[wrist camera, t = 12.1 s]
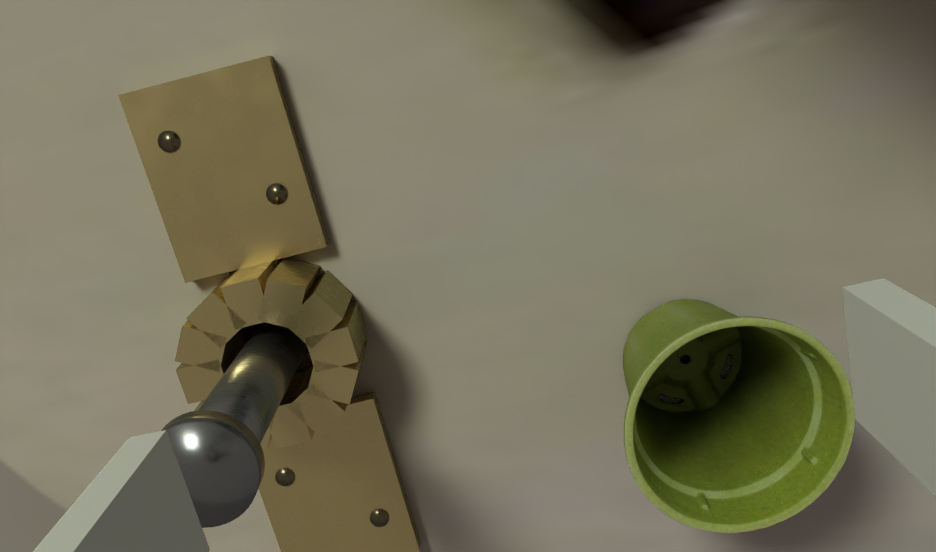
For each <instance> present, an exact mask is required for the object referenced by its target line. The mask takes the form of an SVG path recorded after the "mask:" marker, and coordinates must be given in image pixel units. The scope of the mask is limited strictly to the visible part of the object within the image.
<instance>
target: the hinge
mask: <svg viewBox="0 0 936 552" xmlns="http://www.w3.org/2000/svg"><path fill="white" fill-rule="evenodd" d="M119 98H120V101H121V104H122V107H123V109H124V112H125V115H126V118H127V121H128V123H129V126H130V129H131V132H132V135H133V137H134V140H135V143H136V146H137V149H138V151H139V154H140V157H141V160H142V163H143V166H144V168H145V171H146V174H147V177H148V180H149V182H150V185H151V188H152V191H153V194H154V196H155V199H156V202H157V205H158V208H159V210H160V213H161V216H162V219H163V222H164V224H165V227H166V230H167V233H168V236H169V238H170V241H171V244H172V247H173V250H174V252H175V255H176V258H177V261H178V264H179V266H180V269H181V272H182V275H183V278H184V280H185V283H187V282H191V281H195V280H199V279H203V278H206V277H210V276H214V275H218V274H222V273H226V272H230V271H233V272H232V273H231V274H230V275H229V276H228V277H227V278H226V279H225V280H224V281H223V282H222V283H221V284H220V285H219V286H218V287H217V288H216V289H215V290H214V291H213V292H212V293H211V294H210V295H209V296H208V297H207V298H206V299H205V300H204V301H203V302H202V303H201V304H200V305H199V306H198V307H197V308H196V309H195V310H194V311H193V312H192V313H191V314H190V315H189V316H188V317H187V319H188V321H187V322H186V323H185V324H184V325H183V326H182V329H181V334H180V339H179V344H178V349H177V353H176V358H175V361H177V362H181V365H180V366H179V367H178V368H177V369H176V372H177V375H178V378H179V380H180V383H181V386H182V388H183V391H184V394H185V396H186V399H187V402H188V404H190V403H194V402H198V401H201V402H200V403H199V405H198V406H197V408H196V409H195V410H194V411H198V410H199V408H200V407H201V405H202V404H203V403H204V401H205V400H206V398H207V397H208V396H209V394H210V393H211V391H212V390H213V389H214V387H215V386H216V384H217V383H218V382H219V380H220V379H221V377H222V376H223V375H224V373H225V372H226V370H227V369H228V368H229V366H230V365H231V363H232V362H233V361H234V359H235V358H236V356H237V355H238V354H239V352H240V351H241V349H242V348H243V347H244V345H245V342H244V339H243V332H244V328H245V327H247V326H251V325H255V324H259V323H263V322H267V323H271V324H275V325H279V326H282V327H286V328H289V329H290V330H291V331H292V332H294V333H295V334H296V335H297V336H298V337H299V338H300V339H301V340H302V341H303V342H304V343H306V344H307V347H308V351H309V354H310V357H311V360H312V363H313V365H312V366H311V367H310V368H309V369H308V370H307V371H303V372H299V373H295V374H294V376H293V378H292V380H291V382H290V384H289V386H288V388H287V390H286V392H285V394H284V396H283V398H282V400H281V402H280V404H279V407H278V409H277V411H276V413H275V415H274V417H273V419H272V421H271V423H270V425H269V427H268V429H267V431H266V433H265V435H264V437H263V439H262V441H261V443H260V445H261V447H262V450H263V453H264V459H265V470H264V475H263V478H262V481H261V484H260V486H259V491H260V493H261V496H262V499H263V502H264V505H265V507H266V510H267V513H268V516H269V519H270V521H271V524H272V527H273V530H274V533H275V535H276V538H277V541H278V544H279V547H280V549H281V552H420V540H419V537H418V534H417V530H416V527H415V524H414V521H413V517H412V514H411V511H410V507H409V504H408V501H407V498H406V494H405V491H404V488H403V484H402V481H401V478H400V475H399V471H398V468H397V465H396V461H395V458H394V455H393V452H392V448H391V445H390V442H389V438H388V435H387V432H386V429H385V425H384V422H383V419H382V415H381V412H380V409H379V406H378V402H377V399H376V396H375V392H374V393H370V394H366V395H362V396H358V397H354V398H352V394H353V391H354V387H355V384H356V380H357V377H358V373H359V369H360V366H361V362H362V358H363V354H364V351H365V347H366V343H367V341H365V338H366V334H367V332H366V329H365V325H364V322H363V319H362V315H361V312H360V309H359V305H358V302H353V303H349V302H350V300H351V297H352V295H353V294H352V293H351V292H350V291H349V290H348V289H347V288H346V287H345V286H344V285H343V284H342V283H340V282H339V281H338V280H337V279H336V278H335V277H334V276H333V275H332V274H331V273H330V272H329V271H328V270H327V271H326V272H325V273H324V274H323V275H322V276H321V277H320V278H319V279H318V280H317V281H316V279H317V275H318V271H319V267H320V266H318V265H314V264H311V263H307V262H303V261H299V260H296V259H292V258H288V257H289V256H293V255H297V254H301V253H305V252H309V251H313V250H317V249H321V248H325V247H327V246H328V244H329V241H328V238H327V235H326V231H325V228H324V225H323V221H322V218H321V215H320V212H319V208H318V205H317V202H316V198H315V195H314V192H313V189H312V185H311V182H310V179H309V175H308V172H307V169H306V166H305V162H304V159H303V156H302V152H301V149H300V146H299V143H298V139H297V136H296V133H295V129H294V126H293V123H292V120H291V116H290V113H289V110H288V106H287V103H286V100H285V97H284V93H283V90H282V87H281V83H280V80H279V77H278V74H277V70H276V67H275V64H274V60H273V57H272V56H266V57H262V58H258V59H254V60H251V61H247V62H243V63H239V64H235V65H232V66H228V67H224V68H220V69H216V70H213V71H209V72H205V73H201V74H197V75H194V76H190V77H186V78H182V79H178V80H175V81H171V82H167V83H163V84H160V85H156V86H152V87H148V88H144V89H141V90H137V91H133V92H129V93H125V94H122V95H119ZM281 258H284V259H283V260H282V261H281V263H280V264H279V263H278V259H281ZM238 269H239V270H238ZM236 270H238V271H236Z"/></svg>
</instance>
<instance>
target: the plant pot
mask: <svg viewBox="0 0 936 552" xmlns="http://www.w3.org/2000/svg"><path fill="white" fill-rule="evenodd" d="M729 354H730V355H731V357H732V365H731V369H730V371H729V373H728V375H727V376H726V377H725V378H724V379H722V378H720V374H721V373H722V370H723V368H724V366H725V363H726V359H728V355H729ZM682 355H688V356H689V357H690V361H689V362H688V363H687V364H683V363H682V362H680V357H681V356H682ZM623 369H624V375H625V380H626V385H627V389H628V394H629V401H628V404H627V408H626V414H625V421H624V445H625V452H626V457H627V461H628V464H629V467H630V470H631V472H632V474H633V476H634V479H635V480H636V482H637V484H638V486H639V487H640V489H641V490H642V492H643V493H644V495H645V496H646V497H647V498H648V499H649V500H650V501H651V502H652V504H653V505H655V506H656V507H657V508H658V509H659V510H661V511H662V512H663V513H665V514H666V515H668V516H669V517H671V518H673V519H674V520H676V521H678V522H680V523H682V524H685V525H687V526H689V527H692V528H696V529H700V530H705V531H710V532H716V533H739V532H747V531H753V530H758V529H762V528H766V527H769V526H771V525H775V524H777V523H779V522H782V521H784V520H786V519H788V518H790V517H792V516H794V515H796V514H797V513H799V512H800V511H802V510H803V509H805V508H806V507H807V506H809V505H810V504H811V503H812V502H814V501H815V500H816V499H817V498H818V497H819V496H820V495H821V494H822V493H823V492H824V491H825V490H826V489H827V488H828V487H829V485H830V484H831V483H832V482H833V480H834V479H835V477H836V476H837V474H838V473H839V471H840V470H841V468H842V466H843V464H844V463H845V461H846V458H847V456H848V453H849V450H850V446H851V443H852V439H853V435H854V429H855V411H854V401H853V392H852V389H851V386H850V382H849V380H848V378H847V375H846V373H845V371H844V370H843V368H842V366H841V365H840V363H839V362H838V360H837V359H836V357H835V356H834V355H833V354H832V353H831V352H830V351H829V349H828V348H827V347H826V346H825V345H824V344H822V343H821V342H820V341H819V340H817V339H816V338H815V337H813V336H812V335H810V334H809V333H807V332H805V331H803V330H801V329H800V328H797V327H795V326H793V325H790V324H787V323H785V322H781V321H778V320H774V319H768V318H762V317H738V316H736V315H734V314H731V313H729V312H727V311H725V310H723V309H721V308H719V307H717V306H715V305H713V304H710V303H708V302H704V301H700V300H691V299H682V300H674V301H671V302H668V303H666V304H664V305H662V306H660V307H658V308H657V309H655V310H653V311H651V312H650V313H648V314H646V315H645V316H643V317H642V318H641V319H640V320H639V321H638V322H637V323H636V324H635V326H634V327H633V329H632V330H631V332H630V334H629V336H628V338H627V341H626V343H625V347H624V353H623ZM659 394H663V395H666V396H669V397H671V398H676V399H683V400H684V401H683V402H681V403H680V404H673V403H666V402H664V401H661V400H660V399H659V398H658V396H659Z"/></svg>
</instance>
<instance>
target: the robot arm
mask: <svg viewBox="0 0 936 552" xmlns="http://www.w3.org/2000/svg"><path fill="white" fill-rule="evenodd" d="M842 289H843V299H844V309H845V319H846V330H847V340H848V350H849V360H850V371H851V381H852V391H853V401H854V411H855V419H856V420H857V421H858V422H859V423H860V424H861V425H862V426H863V427H864V428H865V429H866V430H867V431H868V432H869V433H870V434H871V435H872V436H873V437H874V438H875V439H876V440H878V441H879V442H880V443H881V444H882V445H883V446H884V447H885V448H886V449H887V450H888V451H889V452H890V453H891V454H892V455H893V456H894V457H895V458H896V459H897V460H898V461H899V462H900V463H901V464H902V465H903V466H905V467H906V468H907V469H908V470H909V471H910V472H911V473H912V474H913V475H914V476H915V477H916V478H917V479H918V480H919V481H920V482H921V483H922V484H923V485H924V486H925V487H926V488H927V489H928V490H929V491H930V492H932V493H933V494H934V495H935V496H936V307H934V306H932V305H930V304H929V303H927V302H925V301H923V300H921V299H920V298H918V297H916V296H914V295H913V294H911V293H909V292H907V291H905V290H904V289H902V288H900V287H898V286H897V285H895V284H893V283H891V282H889V281H888V280H886V279H884V278H883V279H878V280H874V281H869V282H864V283H859V284H855V285H850V286H845V287H842ZM209 550H210V549H209V546H208V543H207V540H206V538H205V535H204V532H203V529H202V527H201V524H200V521H199V518H198V516H197V513H196V510H195V507H194V505H193V502H192V499H191V497H190V494H189V491H188V488H187V486H186V483H185V480H184V477H183V475H182V472H181V469H180V466H179V464H178V461H177V458H176V455H175V453H174V450H173V447H172V445H171V442H170V439H169V436H168V434H167V431H166V430H164V431H159V432H154V433H149V434H145V435H140V436H135V437H131V438H128V439H127V440H126V442H125V443H124V444H123V445H122V446H121V448H120V449H119V450H118V451H117V452H116V454H115V455H114V456H113V457H112V458H111V459H110V461H109V462H108V463H107V464H106V465H105V467H104V468H103V469H102V470H101V471H100V473H99V474H98V475H97V476H96V477H95V478H94V480H93V481H92V482H91V483H90V484H89V486H88V487H87V488H86V489H85V490H84V492H83V493H82V494H81V495H80V496H79V498H78V499H77V500H76V501H75V502H74V503H73V505H72V506H71V507H70V508H69V509H68V511H67V512H66V513H65V514H64V515H63V517H62V518H61V519H60V520H59V521H58V522H57V524H56V525H55V526H54V527H53V528H52V530H51V531H50V532H49V533H48V535H47V536H46V537H45V538H44V539H43V540H42V541H41V543H40V544H39V545H38V546H37V547H36V549H35V550H34V551H33V552H209Z"/></svg>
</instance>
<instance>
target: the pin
mask: <svg viewBox="0 0 936 552" xmlns="http://www.w3.org/2000/svg"><path fill="white" fill-rule="evenodd" d="M306 349H307V344H306V343H304V342H303V341H302V340H301V339H300V338H299V337H298V336H297V335H296V334H295V333H294V332H292V331H291V330H290V329H289V328H286V327H282V326H279V325H275V324H271V323H267V322H263V323H260V324H259V326H258V327H257V329H256V330H255V331H254V333H253V334H252V336H251V337H250V338H249V340H248V341H247V342H246V344H245V345H244V347H243V348H242V349H241V351H240V352H239V354H238V355H237V356H236V358H235V359H234V361H233V362H232V363H231V365H230V366H229V368H228V369H227V370H226V372H225V373H224V375H223V376H222V377H221V379H220V380H219V382H218V383H217V384H216V386H215V387H214V389H213V390H212V391H211V393H210V394H209V396H208V397H207V398H206V400H205V401H204V403H203V404H202V405H201V407H200V408H199V410H198V411H193V412H189V413H185V414H183V415H180V416H178V417H176V418H175V419H173V420H172V421H170V422H169V423H168V424H167V425H166V426H165V427H164V428H163V429H162V430H161V431H164V430H166V431H167V434H168V436H169V439H170V442H171V445H172V447H173V450H174V453H175V455H176V458H177V461H178V464H179V466H180V469H181V472H182V475H183V477H184V480H185V483H186V486H187V488H188V491H189V494H190V497H191V499H192V502H193V505H194V507H195V510H196V513H197V516H198V518H199V521H200V524H201V527H204V528H205V527H215V526H220V525H223V524H226V523H228V522H230V521H233V520H234V519H236V518H237V517H239V516H240V515H241V514H243V513H244V512H245V511H246V509H247V508H248V507H249V506H250V504H251V503H252V501H253V499H254V497H255V495H256V493H257V490H258V488H259V486H260V484H261V481H262V478H263V475H264V470H265V459H264V453H263V450H262V447H261V445H260V443H261V441H262V439H263V437H264V435H265V433H266V431H267V429H268V427H269V425H270V423H271V421H272V419H273V417H274V415H275V413H276V411H277V409H278V407H279V404H280V402H281V400H282V398H283V396H284V394H285V392H286V390H287V388H288V386H289V384H290V382H291V380H292V378H293V376H294V374H295V372H296V370H297V368H298V366H299V364H300V362H301V359H302V357H303V355H304V353H305V351H306Z"/></svg>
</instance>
